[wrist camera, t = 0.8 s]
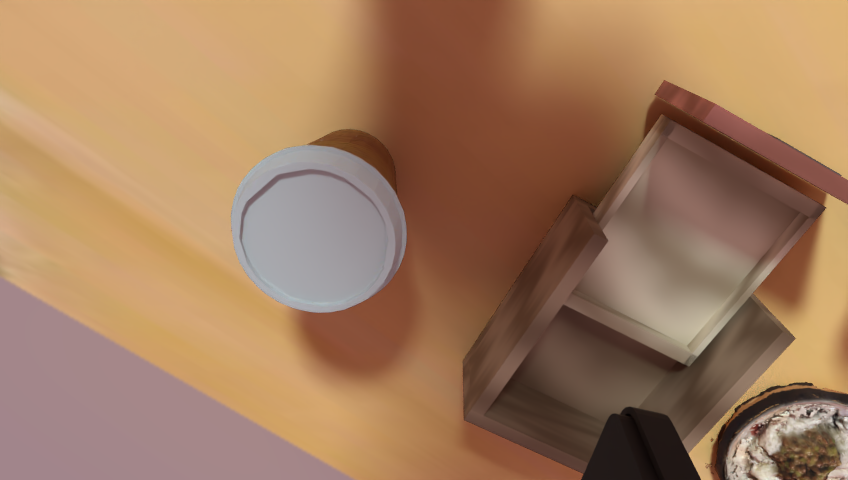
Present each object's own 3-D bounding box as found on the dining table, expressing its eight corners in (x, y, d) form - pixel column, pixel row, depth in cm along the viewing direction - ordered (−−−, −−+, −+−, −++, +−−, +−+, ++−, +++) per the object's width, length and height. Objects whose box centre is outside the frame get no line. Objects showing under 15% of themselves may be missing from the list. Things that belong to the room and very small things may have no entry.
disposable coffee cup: (404, 94, 39) (383, 137, 28) (429, 225, 43) (420, 308, 32) (267, 118, 40) (197, 168, 29) (303, 244, 44) (253, 330, 33)
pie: (727, 352, 46) (752, 385, 43) (913, 379, 47) (954, 414, 43) (670, 491, 52) (687, 530, 49) (836, 514, 53) (866, 556, 49)
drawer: (665, 78, 37) (717, 101, 30) (840, 179, 39) (929, 224, 32) (531, 276, 43) (547, 337, 36) (689, 355, 45) (735, 427, 38)
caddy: (572, 194, 41) (594, 233, 35) (745, 286, 44) (795, 338, 37) (462, 360, 47) (463, 419, 41) (619, 433, 50) (643, 500, 43)
